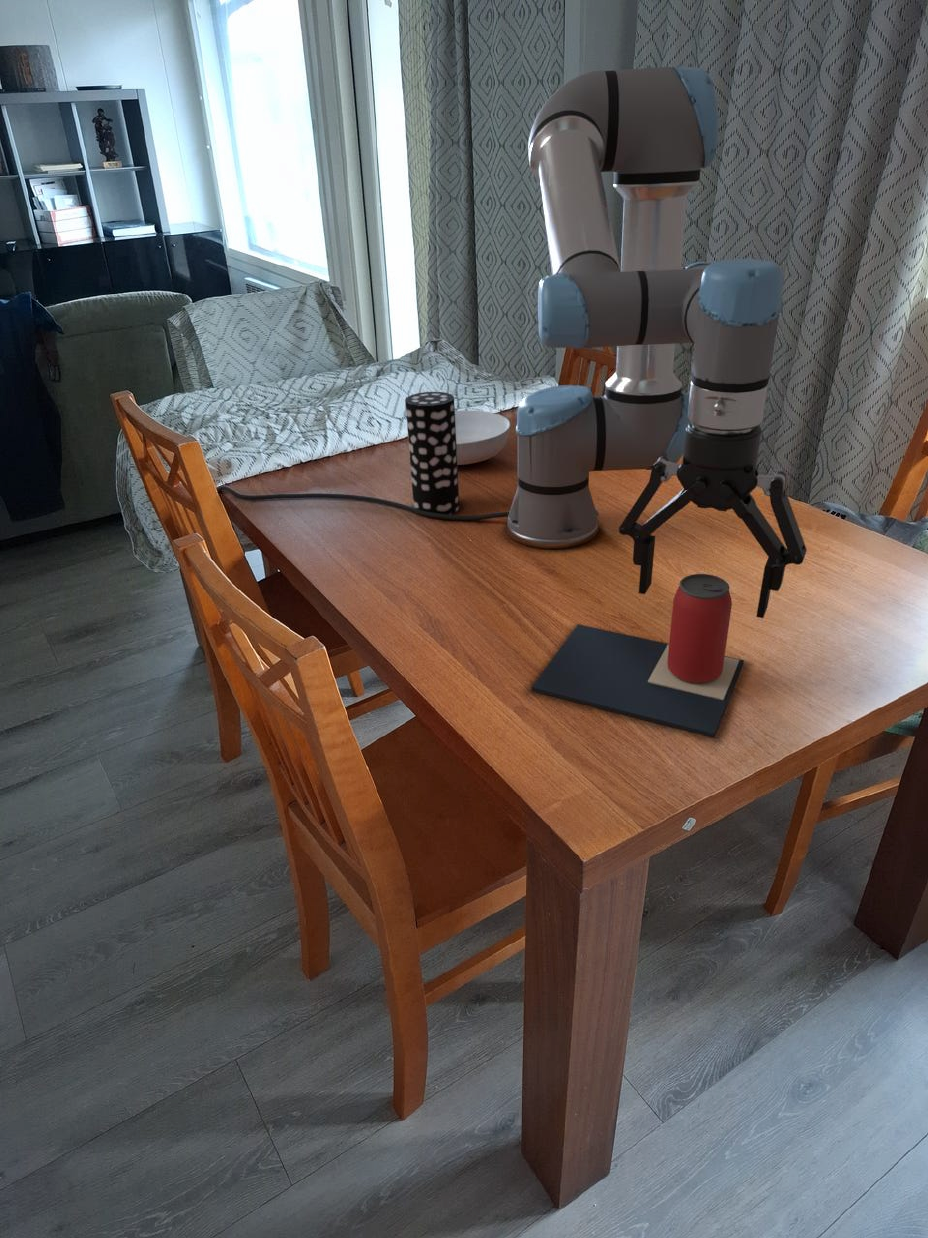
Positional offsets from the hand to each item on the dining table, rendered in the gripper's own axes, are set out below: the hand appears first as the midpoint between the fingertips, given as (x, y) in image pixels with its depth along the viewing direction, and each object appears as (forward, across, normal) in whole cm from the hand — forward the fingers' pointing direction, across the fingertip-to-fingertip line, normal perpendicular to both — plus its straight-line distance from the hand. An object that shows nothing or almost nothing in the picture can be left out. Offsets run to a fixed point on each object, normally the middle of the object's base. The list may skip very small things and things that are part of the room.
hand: (701, 600), depth 97 cm
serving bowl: (+12, -63, +58) cm, 87 cm away
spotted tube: (+12, -55, +34) cm, 65 cm away
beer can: (+10, 0, -1) cm, 10 cm away
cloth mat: (+10, -6, -4) cm, 12 cm away
